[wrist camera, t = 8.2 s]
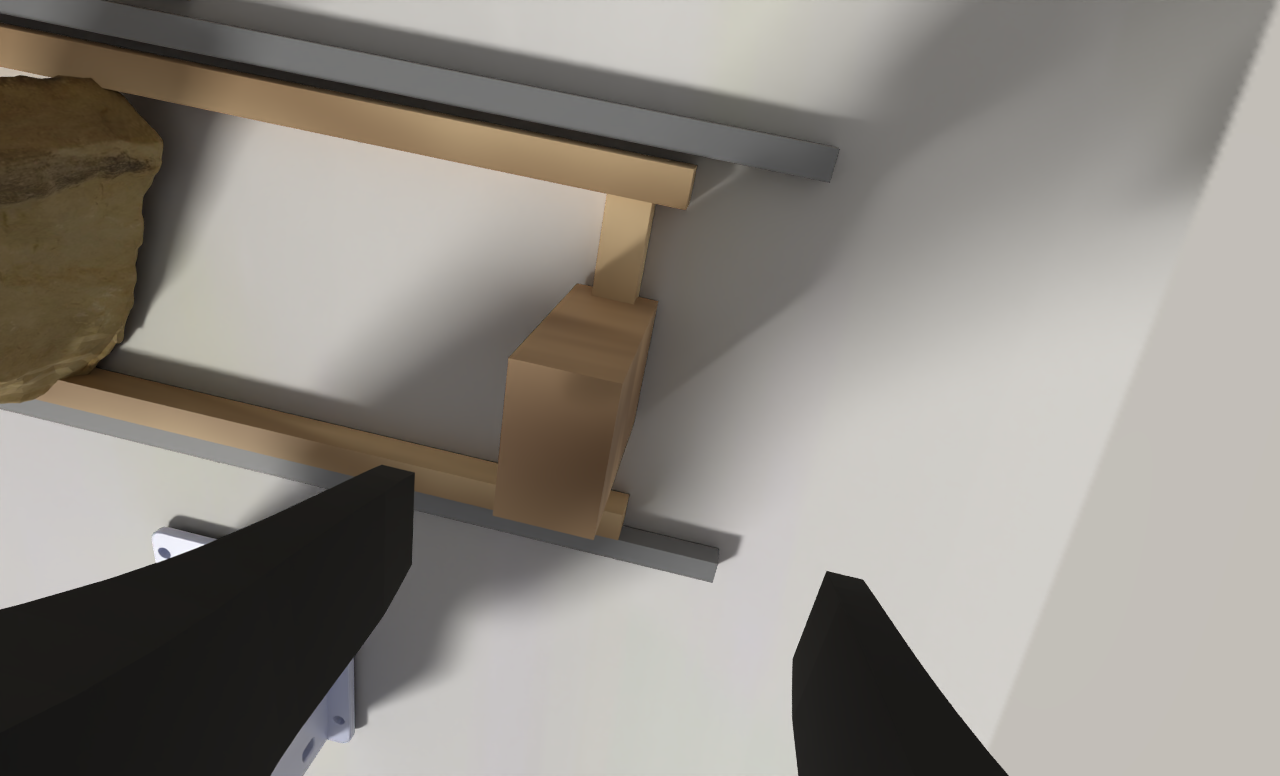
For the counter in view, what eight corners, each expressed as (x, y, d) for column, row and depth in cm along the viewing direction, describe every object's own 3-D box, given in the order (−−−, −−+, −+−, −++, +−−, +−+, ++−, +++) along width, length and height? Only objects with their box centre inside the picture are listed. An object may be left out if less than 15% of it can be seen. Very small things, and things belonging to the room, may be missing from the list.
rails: (713, 567, 22) (712, 582, 22) (-247, 334, 24) (-278, 341, 24) (923, -158, 14) (933, -172, 13) (-571, -414, 16) (-635, -438, 15)
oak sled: (624, 518, 22) (583, 661, 16) (-47, 357, 23) (-295, 438, 18) (697, 165, 17) (673, 196, 11) (-155, -10, 19) (-545, -58, 13)
